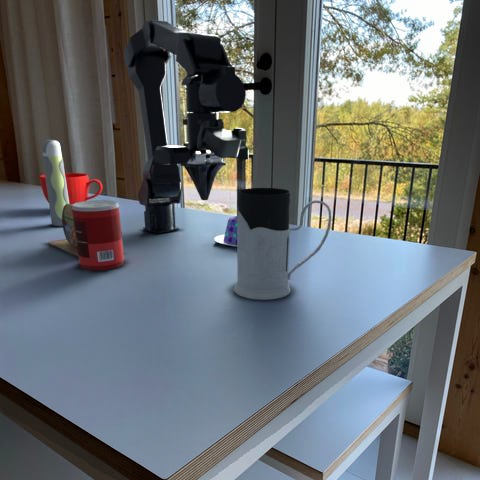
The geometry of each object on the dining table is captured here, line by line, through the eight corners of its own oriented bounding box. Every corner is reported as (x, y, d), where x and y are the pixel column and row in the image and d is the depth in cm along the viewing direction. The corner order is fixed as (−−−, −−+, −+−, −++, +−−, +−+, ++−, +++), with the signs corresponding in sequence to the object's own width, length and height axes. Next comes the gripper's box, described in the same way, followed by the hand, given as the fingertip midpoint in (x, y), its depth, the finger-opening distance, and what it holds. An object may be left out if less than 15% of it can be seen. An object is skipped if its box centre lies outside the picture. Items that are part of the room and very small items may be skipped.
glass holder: (235, 280, 78) (235, 187, 72) (321, 281, 78) (328, 187, 72) (233, 299, 70) (232, 195, 64) (329, 300, 70) (338, 196, 64)
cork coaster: (79, 238, 106) (79, 237, 106) (120, 254, 93) (119, 252, 93) (48, 243, 101) (48, 242, 101) (86, 260, 89) (86, 259, 89)
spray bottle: (74, 225, 119) (63, 140, 111) (54, 227, 116) (41, 140, 108) (69, 222, 122) (57, 139, 115) (49, 224, 120) (36, 139, 112)
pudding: (281, 242, 103) (281, 217, 101) (243, 252, 95) (244, 226, 93) (240, 233, 110) (240, 210, 108) (202, 242, 102) (202, 218, 100)
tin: (63, 241, 102) (57, 201, 99) (77, 239, 104) (72, 199, 101) (92, 255, 91) (87, 211, 88) (107, 252, 93) (103, 209, 90)
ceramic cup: (98, 215, 131) (94, 178, 127) (37, 215, 131) (31, 177, 127) (110, 207, 143) (107, 173, 139) (55, 207, 143) (49, 172, 139)
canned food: (132, 261, 89) (126, 201, 84) (108, 273, 82) (100, 208, 78) (97, 257, 91) (90, 199, 87) (70, 268, 84) (61, 206, 80)
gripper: (187, 111, 75) (191, 211, 81) (269, 113, 87) (267, 199, 93) (149, 112, 83) (155, 203, 89) (229, 113, 94) (230, 193, 100)
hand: (204, 200), depth 93 cm, fingers closed
